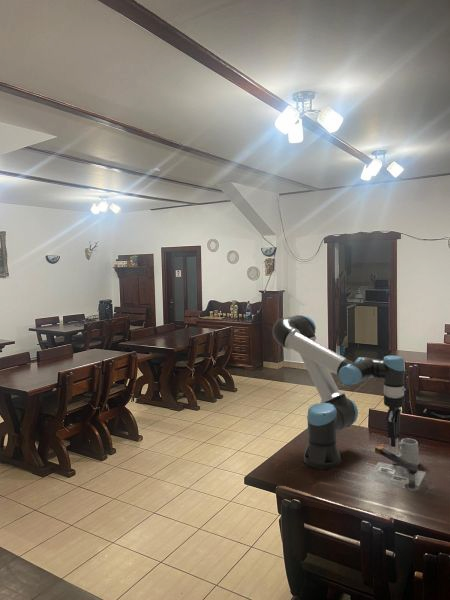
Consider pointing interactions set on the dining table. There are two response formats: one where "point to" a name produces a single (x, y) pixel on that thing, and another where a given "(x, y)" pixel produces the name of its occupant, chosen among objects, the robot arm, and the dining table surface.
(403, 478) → the label right
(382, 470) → the label left
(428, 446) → the dining table surface
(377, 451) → the grey lever orange grip
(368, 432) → the dining table surface
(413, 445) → the mug
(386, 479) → the plate
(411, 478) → the grey metal knob
